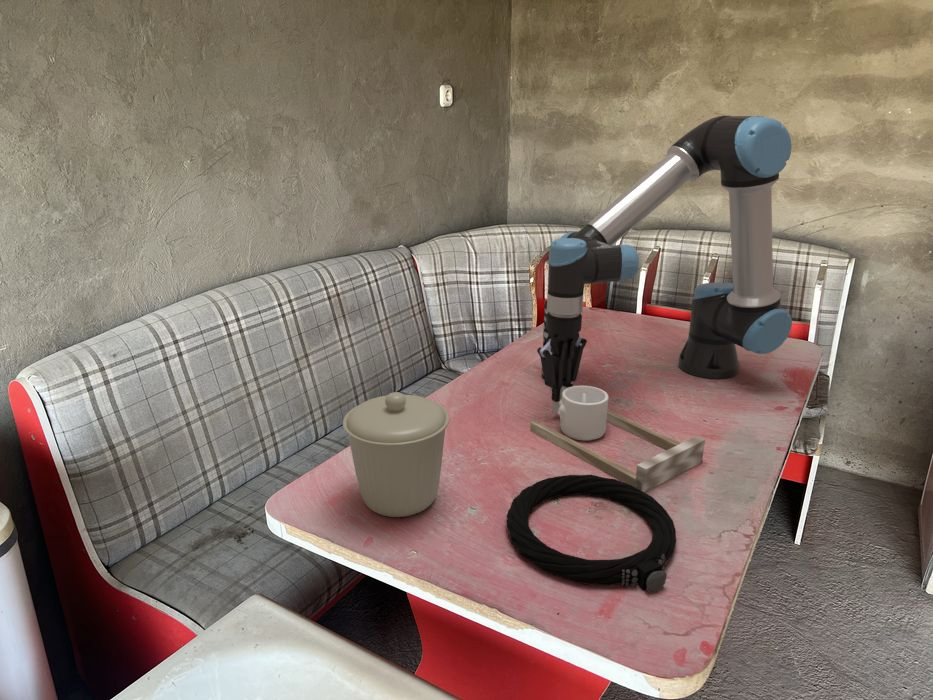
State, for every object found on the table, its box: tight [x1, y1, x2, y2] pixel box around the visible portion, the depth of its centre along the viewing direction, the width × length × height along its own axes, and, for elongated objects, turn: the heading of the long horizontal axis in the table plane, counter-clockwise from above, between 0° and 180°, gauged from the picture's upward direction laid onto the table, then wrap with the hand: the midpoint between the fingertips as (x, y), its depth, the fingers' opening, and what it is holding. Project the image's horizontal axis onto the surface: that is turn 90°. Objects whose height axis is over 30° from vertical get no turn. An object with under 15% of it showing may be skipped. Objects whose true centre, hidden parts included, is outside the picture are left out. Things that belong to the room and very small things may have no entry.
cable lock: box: [506, 474, 677, 594], centre depth 108 cm, size 28×4×30 cm
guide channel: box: [530, 409, 706, 493], centre depth 135 cm, size 18×30×5 cm, turn 37°
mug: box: [557, 385, 609, 442], centre depth 141 cm, size 12×10×9 cm
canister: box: [342, 391, 450, 518], centre depth 114 cm, size 18×18×21 cm
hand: (558, 412), depth 147 cm, fingers closed
